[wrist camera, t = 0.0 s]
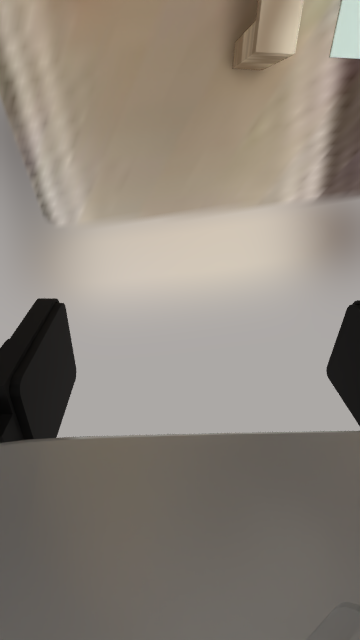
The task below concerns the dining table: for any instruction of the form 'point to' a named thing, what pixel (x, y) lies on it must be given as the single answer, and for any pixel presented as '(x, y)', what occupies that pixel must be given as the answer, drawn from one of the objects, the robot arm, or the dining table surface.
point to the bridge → (269, 35)
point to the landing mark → (347, 31)
